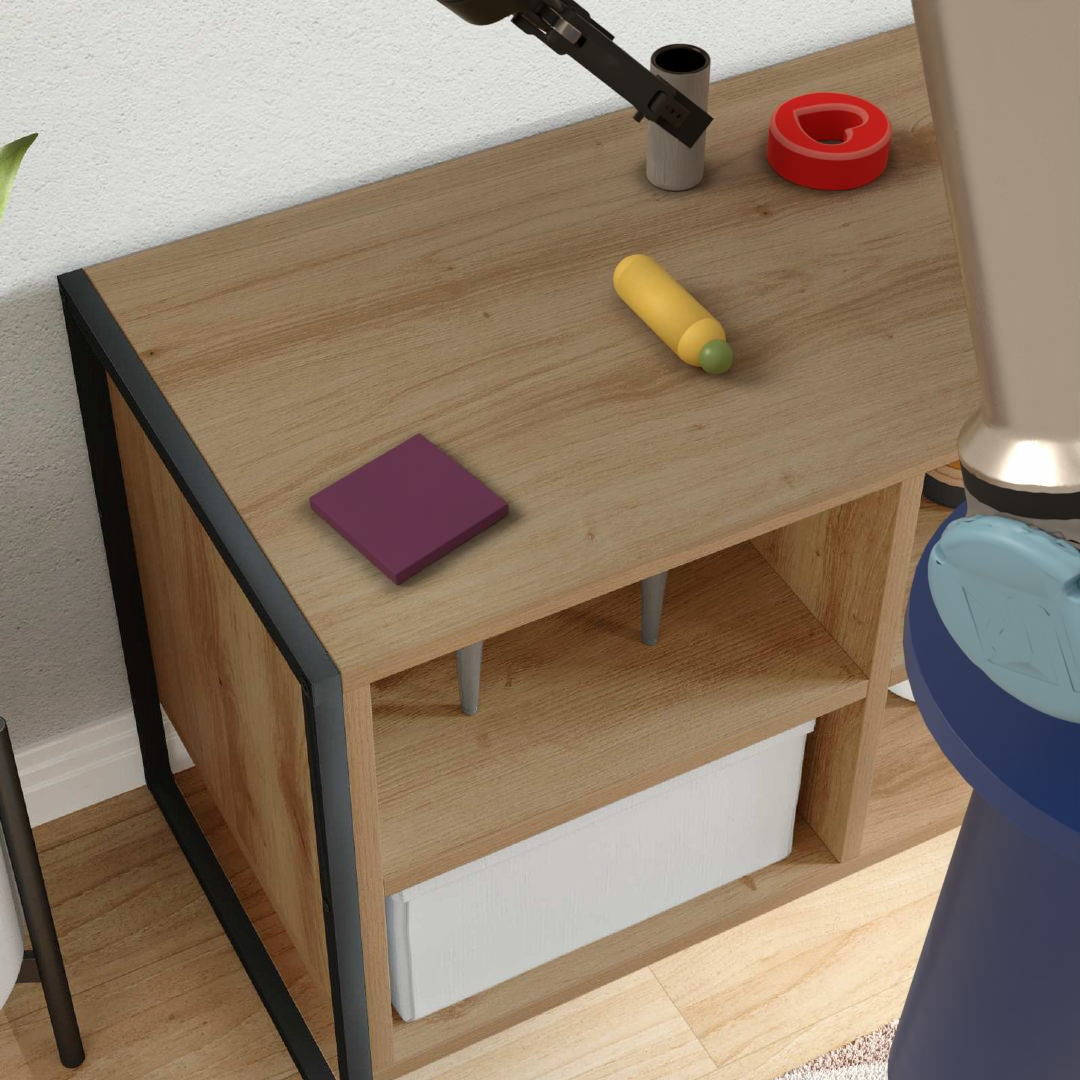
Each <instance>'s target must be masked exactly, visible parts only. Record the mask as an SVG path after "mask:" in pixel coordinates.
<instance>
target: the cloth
mask: <svg viewBox="0 0 1080 1080" xmlns="http://www.w3.org/2000/svg"><path fill="white" fill-rule="evenodd" d="M308 500H309V505H310V509H311V510H312V511H313V512H314V513H316V514H317V515H318V516H319V517H320V518H321V519H322V520H324V522H325V523H327V524H328V525H329V526H330V527H331V528H332V529H334V531H335V532H337V533H338V534H339V536H341V537H342V538H344V539H345V540H346V541H347V542H348V543H349V544H350V545H352V546H353V547H354V548H355V549H356V550H357V551H358V552H359V553H360V554H361V555H362V556H364V557H365V558H366V559H367V560H368V561H369V562H370V563H372V564H373V565H374V567H376V568H377V569H378V570H379V571H381V573H383V574H384V575H385V576H386V577H387V578H388V579H389V580H391V581H392V582H393V583H394V584H395V585H396V586H397V585H400V584H401V583H403V582H405V581H406V580H408V579H409V578H411V577H413V576H414V575H416V574H417V573H419V572H420V571H421V570H423V569H425V568H426V567H428V566H430V565H431V564H433V563H434V562H436V561H437V560H439V559H441V558H442V557H444V556H445V555H447V554H448V553H450V552H451V551H453V550H455V549H456V548H458V547H460V546H461V545H462V544H464V543H466V542H467V541H469V540H470V539H472V538H473V537H475V536H477V535H478V534H479V533H481V532H483V531H485V530H486V529H487V528H489V527H491V526H492V525H494V524H495V523H497V522H499V521H500V520H502V519H504V518H505V517H507V515H509V504H508V502H506V501H505V500H504V499H503V498H502V497H500V496H499V495H498V494H497V493H495V492H494V491H493V490H491V489H490V488H489V487H488V486H486V485H485V484H484V483H482V482H481V481H480V480H479V479H478V478H477V477H475V476H474V475H472V474H471V473H470V472H469V471H468V470H467V469H465V468H464V467H463V466H461V465H460V464H459V463H458V462H456V460H454V459H452V458H451V457H450V456H449V455H448V454H446V453H445V452H444V451H443V450H441V449H440V448H439V447H438V446H436V445H435V444H434V443H433V442H432V441H430V440H429V439H427V438H426V437H425V436H424V435H423V434H422V433H420V432H418V433H416V434H415V435H413V436H411V437H410V438H408V439H406V440H404V441H403V442H401V443H399V444H398V445H396V446H394V447H393V448H391V449H389V450H387V451H386V452H384V453H382V454H380V455H379V456H377V457H376V458H374V459H372V460H371V461H368V462H367V463H365V464H363V465H362V466H360V467H359V468H356V469H355V470H353V471H352V472H350V473H348V474H347V475H345V476H343V477H341V478H340V479H338V480H336V481H335V482H333V483H331V484H330V485H327V486H326V487H324V488H323V489H321V490H319V491H318V492H316V493H314V494H313V495H311V496H309V497H308Z"/></svg>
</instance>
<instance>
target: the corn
mask: <svg viewBox="0 0 1080 1080" xmlns="http://www.w3.org/2000/svg"><path fill="white" fill-rule="evenodd" d="M612 283H613V288H614V290H615V293H616V294H617V296H618V297H619V298H620V299H621V300H622V301H623V302H624V303H625V304H626V305H627V306H628V307H629V308H630V309H631V310H632V311H633V312H634V314H636V315H637V316H638V317H639V318H640V319H641V320H642V321H643V322H644V323H645V324H646V325H647V327H648V328H650V330H651V331H653V332H654V333H655V335H657V337H659V338H660V340H662V342H663V343H664V344H665V345H666V346H668V347H669V349H670V350H671V351H672V352H673V353H675V355H676V356H677V357H678V358H679V359H680V360H681V361H683V362H684V363H685V364H686V365H689V366H692V367H698V368H702V370H703V371H704V372H706V373H708V374H711V375H721V374H723V373H725V372H727V371H728V370H729V369H730V368H731V366H732V365H733V363H734V350H733V348H732V347H731V345H730V344H729V343H728V342H727V338H726V332H725V330H724V328H723V326H722V325H721V323H720V321H718V320H717V319H716V318H715V317H714V316H713V315H712V314H711V313H710V312H709V311H708V310H707V308H705V307H704V306H703V305H701V303H700V302H698V301H697V300H696V299H695V298H694V296H692V294H691V293H689V291H687V290H686V289H685V288H684V287H683V286H682V285H681V284H680V283H679V282H678V281H676V279H675V278H674V277H673V276H671V275H670V273H668V272H667V271H666V270H665V268H663V267H662V266H661V264H659V263H658V262H657V261H656V260H655V259H654V258H652V257H650V256H648V255H645V254H641V253H639V254H637V253H635V254H632V255H631V254H630V255H629V256H626V257H625V258H623V259H622V260H620V261H619V263H618V264H617V265H616V267H615V268H614V272H613V277H612Z"/></svg>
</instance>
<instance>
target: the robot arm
mask: <svg viewBox="0 0 1080 1080" xmlns="http://www.w3.org/2000/svg"><path fill="white" fill-rule="evenodd" d="M436 2H438V3H439V4H441V5H442V6H443V7H445V8H446V9H448V10H449V11H450V12H451V13H453V14H454V15H456V16H458V17H459V18H460V19H462V20H463V21H464V22H465V23H468V24H471V25H473V26H480V27H482V26H490V25H493V24H497V23H498V22H501V21H503V20H504V19H505V18H509V17H510V16H512V17H511V18H510V22H511V23H512V24H513V25H514V26H515V27H516V28H518V29H519V30H520V31H522V32H523V33H524V34H526V35H529V36H534V37H535V38H537V39H538V40H539V41H541V42H542V43H543V44H544V45H545V46H546V47H548V48H549V49H551V51H553V52H554V53H556V54H557V55H558V56H565V55H567V56H569V57H570V58H572V59H573V60H574V61H575V62H576V63H578V64H579V65H580V66H581V67H582V68H584V69H585V70H586V71H588V72H589V73H590V74H592V75H593V76H595V77H596V78H597V79H598V80H599V81H601V82H602V83H603V84H605V85H606V86H607V87H609V89H611V90H612V91H614V92H615V93H616V94H618V95H619V96H620V97H621V98H623V99H624V100H625V101H626V102H628V103H629V104H630V105H632V106H633V107H634V109H635V110H636V111H635V113H634V114H633V115H632V119H633V121H635V122H636V123H638V124H640V123H641V121H642V120H643V119H644V118H645V119H646V120H647V121H648V120H649V121H650V120H651V121H652V122H655V123H656V124H657V125H659V126H660V127H661V128H663V129H664V130H665V131H667V132H668V133H669V134H671V135H672V136H674V137H675V138H676V139H678V140H679V141H680V142H682V143H683V144H684V145H686V146H687V147H688V148H690V149H691V148H692V147H693V145H694V144H695V143H696V141H697V140H698V139H699V137H700V136H701V135H702V134H703V132H704V131H705V130H706V131H707V128H708V127H709V126H710V125H711V124H712V122H713V121H714V119H715V118H714V117H712V116H711V115H710V114H709V113H708V112H707V113H706V112H705V111H704V110H703V109H701V108H700V107H699V106H697V105H696V104H695V103H694V102H692V101H691V100H690V99H689V98H687V97H686V96H685V95H683V94H682V93H681V92H680V91H678V90H677V89H676V88H674V87H673V86H672V85H671V84H669V83H668V82H667V81H666V80H664V79H663V78H662V77H660V76H659V75H658V74H657V75H656V76H655V75H654V74H653V73H652V72H650V69H648V68H647V67H645V66H644V65H643V64H642V63H641V62H639V61H638V60H637V59H635V58H634V57H633V56H632V55H630V53H628V52H627V51H625V50H624V49H623V48H622V47H621V46H619V45H618V44H617V43H616V42H614V39H616V36H615V35H613V34H612V33H611V32H610V31H609V30H607V29H606V28H605V27H603V26H602V25H600V23H598V22H597V21H596V20H595V19H593V18H592V17H591V14H590V12H589V11H588V10H586V8H584V7H583V6H581V5H580V4H579V3H578V2H576V0H436ZM910 5H911V9H912V15H913V20H914V26H915V33H916V39H917V43H918V48H919V52H920V59H921V66H922V71H923V76H924V80H925V81H924V82H925V87H926V92H927V98H928V103H929V109H930V114H931V115H930V116H931V119H932V125H933V131H934V136H935V137H934V138H935V142H936V143H935V144H936V148H937V153H938V158H939V164H940V169H941V175H942V181H943V186H944V192H945V197H946V202H947V203H946V204H947V207H948V214H949V220H950V224H951V230H952V235H953V242H954V247H955V252H956V258H957V262H958V268H959V269H958V270H959V274H960V278H961V279H960V280H961V285H962V291H963V297H964V302H965V307H966V314H967V318H968V325H969V330H970V334H971V341H972V347H973V351H974V357H975V362H976V368H977V373H978V379H979V384H980V391H981V394H982V402H981V403H980V404H979V405H978V406H977V408H975V410H974V411H973V412H972V413H971V415H969V417H968V418H967V419H966V420H965V422H964V423H963V424H962V426H961V427H960V430H959V433H958V435H957V439H956V440H957V441H956V451H957V457H958V461H959V467H960V471H961V476H962V484H963V489H964V493H965V499H966V500H967V514H966V516H965V517H963V518H960V519H957V520H954V521H952V522H951V523H949V524H948V526H947V527H946V529H945V530H944V532H943V534H942V536H941V539H940V540H939V541H938V542H937V543H936V544H935V545H934V547H933V549H932V551H931V553H930V557H929V562H928V580H929V586H930V591H931V594H932V598H933V601H934V603H935V606H936V608H937V610H938V613H939V615H940V617H941V619H942V621H943V623H944V625H945V626H946V628H947V630H948V631H949V633H950V634H951V636H952V637H953V639H954V640H955V641H956V643H957V644H958V645H959V647H960V648H961V649H962V651H963V652H964V653H965V654H966V655H967V657H968V658H969V659H970V660H971V661H972V662H973V663H974V664H975V665H977V666H978V667H979V668H980V669H982V670H983V671H984V672H985V673H986V674H987V676H988V677H989V678H990V679H991V680H992V681H993V682H995V683H996V684H997V685H998V686H1000V687H1001V688H1002V689H1003V690H1005V691H1006V692H1008V693H1009V694H1011V695H1012V696H1014V697H1015V698H1017V699H1018V700H1020V701H1021V702H1023V703H1025V704H1027V705H1028V706H1030V707H1032V708H1034V709H1036V710H1038V711H1041V712H1043V713H1045V714H1048V715H1050V716H1053V717H1056V718H1059V719H1062V720H1066V721H1069V722H1074V723H1079V724H1080V0H910Z"/></svg>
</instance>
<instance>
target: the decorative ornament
mask: <svg viewBox="0 0 1080 1080" xmlns="http://www.w3.org/2000/svg"><path fill="white" fill-rule="evenodd" d="M768 125H769V127H768V137H767V146H766V159H767V162H768V164H769V165H770V167H771V168H772V169H773V171H774V172H775V173H776V174H778V176H780V177H781V178H783V179H785V180H787V181H789V182H791V183H793V184H796V185H799V186H802V187H806V188H809V189H816V190H821V191H822V190H823V191H845V190H851V189H857V188H859V187H863V186H866V185H867V184H869V183H871V182H873V181H875V180H876V179H877V178H879V177H880V176H881V175H882V173H884V171H885V170H886V168H887V164H888V159H889V153H890V147H891V141H892V136H893V127H892V126H893V125H892V123H891V120H890V118H889V117H888V116H887V114H886V113H885V111H883V110H882V109H881V108H880V107H879V106H877V105H876V104H874V103H872V102H871V101H869V100H866V99H864V98H863V97H859V96H857V95H853V94H847V93H842V92H841V93H840V92H832V91H831V92H830V91H819V92H809V93H805V94H801V95H798V96H794V97H791V98H790V99H787V100H786V101H784V102H782V103H780V104H779V105H778V106H777V108H776V109H775V110H774V111H773V113H772V114H771V116H770V119H769V124H768ZM819 141H842V142H841V143H836V144H828V143H823V142H819Z"/></svg>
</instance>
